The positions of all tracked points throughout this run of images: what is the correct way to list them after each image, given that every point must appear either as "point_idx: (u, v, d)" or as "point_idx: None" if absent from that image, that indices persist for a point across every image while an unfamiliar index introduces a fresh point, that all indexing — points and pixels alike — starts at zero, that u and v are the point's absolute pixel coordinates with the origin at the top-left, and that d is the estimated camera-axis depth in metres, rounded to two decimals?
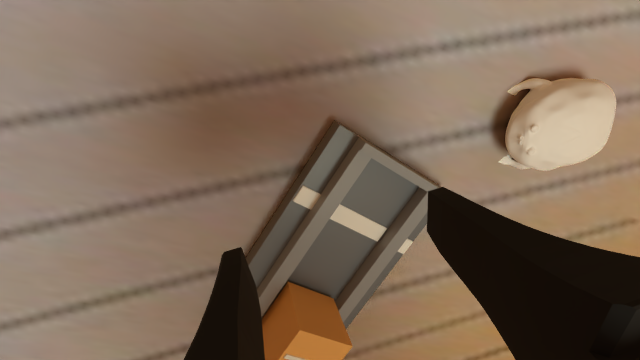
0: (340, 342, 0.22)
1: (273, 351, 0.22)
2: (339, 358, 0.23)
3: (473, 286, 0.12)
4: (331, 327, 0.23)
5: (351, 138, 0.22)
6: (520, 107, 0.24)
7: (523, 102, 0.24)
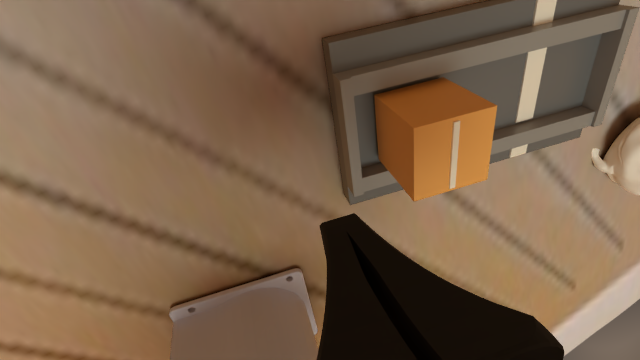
0: (488, 163, 0.18)
1: (428, 113, 0.16)
2: (466, 181, 0.18)
3: None
4: None
5: None
6: None
7: None
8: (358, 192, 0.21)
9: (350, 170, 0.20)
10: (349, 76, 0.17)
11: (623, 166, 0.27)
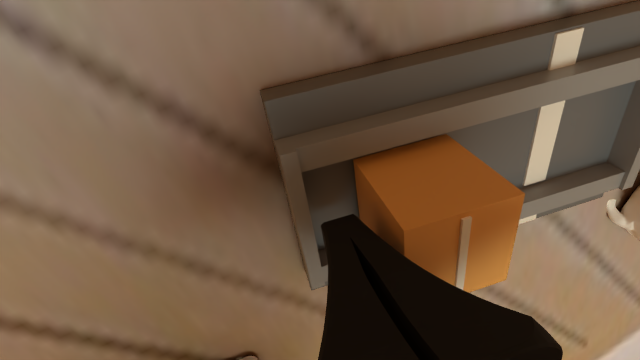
0: (509, 261, 0.13)
1: (426, 201, 0.11)
2: (478, 285, 0.13)
3: None
4: None
5: None
6: None
7: None
8: (317, 284, 0.16)
9: (305, 259, 0.15)
10: (294, 148, 0.12)
11: None
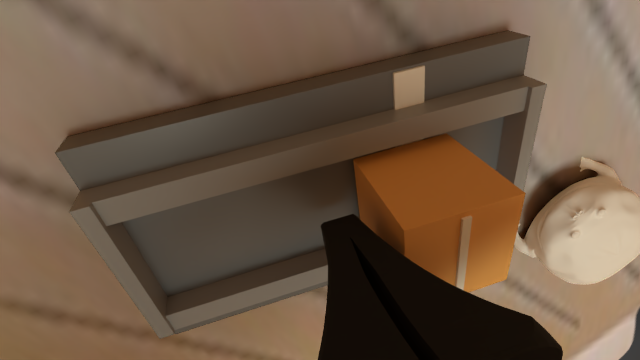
0: (509, 260, 0.13)
1: (426, 201, 0.11)
2: (478, 284, 0.13)
3: None
4: None
5: (517, 67, 0.14)
6: (593, 183, 0.19)
7: (593, 180, 0.19)
8: (164, 333, 0.15)
9: None
10: (92, 201, 0.11)
11: (544, 254, 0.20)
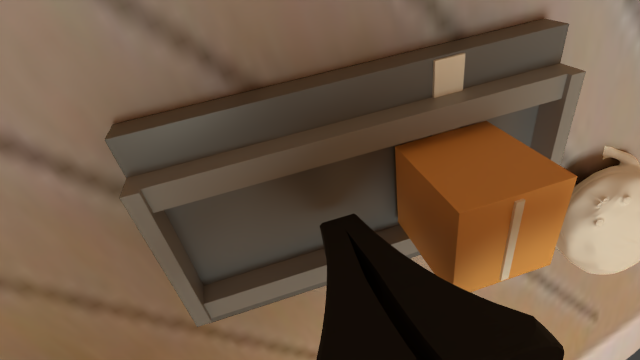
0: (555, 245, 0.13)
1: (477, 185, 0.11)
2: (523, 269, 0.13)
3: None
4: None
5: (555, 55, 0.14)
6: (617, 170, 0.19)
7: (616, 168, 0.19)
8: (202, 321, 0.15)
9: None
10: (140, 188, 0.12)
11: (566, 243, 0.20)
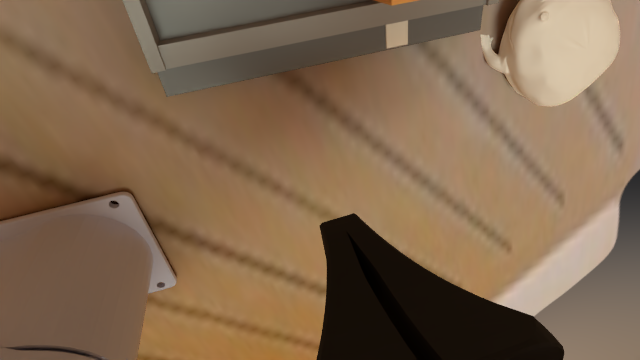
0: None
1: None
2: None
3: None
4: None
5: None
6: None
7: None
8: (156, 66, 0.15)
9: (135, 29, 0.15)
10: None
11: (515, 53, 0.20)
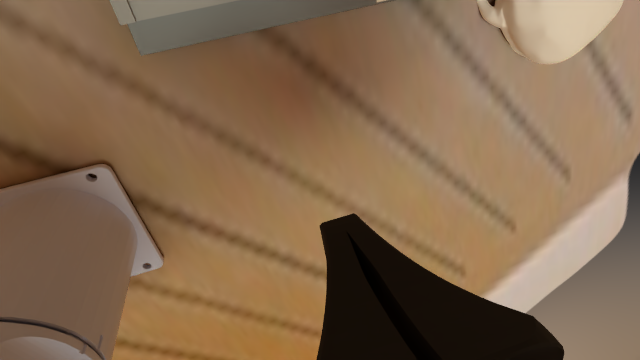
0: None
1: None
2: None
3: None
4: None
5: None
6: None
7: None
8: (125, 17, 0.14)
9: None
10: None
11: (512, 2, 0.19)
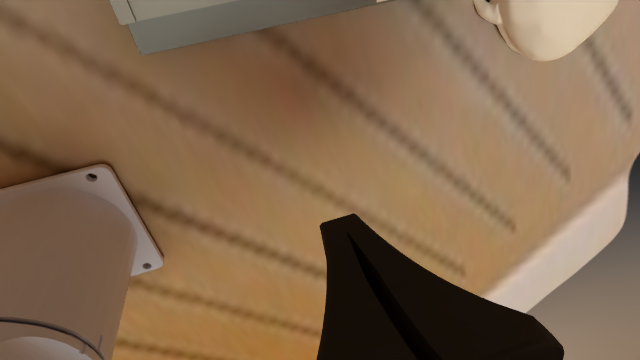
0: None
1: None
2: None
3: None
4: None
5: None
6: None
7: None
8: (125, 17, 0.14)
9: None
10: None
11: None
